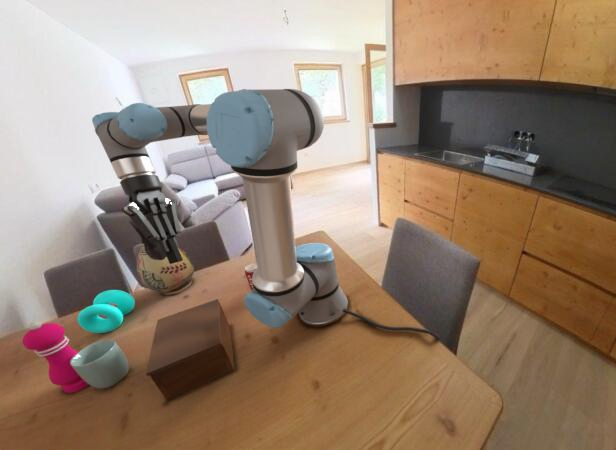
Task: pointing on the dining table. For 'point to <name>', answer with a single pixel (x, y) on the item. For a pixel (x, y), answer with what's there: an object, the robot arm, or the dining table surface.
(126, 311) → the donuts
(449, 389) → the dining table surface
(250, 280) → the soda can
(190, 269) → the ceramic jug
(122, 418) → the dining table surface
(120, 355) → the cup
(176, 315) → the lid
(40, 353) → the pepper mill
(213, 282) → the dining table surface
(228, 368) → the chest
